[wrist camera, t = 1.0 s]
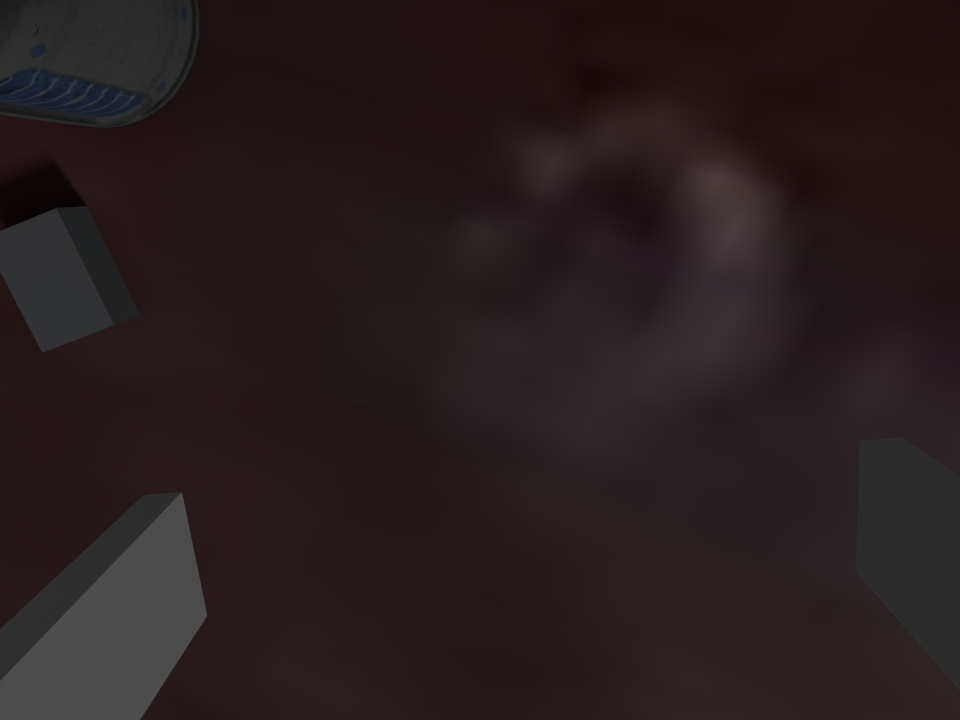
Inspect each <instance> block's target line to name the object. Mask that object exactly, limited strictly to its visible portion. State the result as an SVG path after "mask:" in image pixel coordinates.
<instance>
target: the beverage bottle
mask: <svg viewBox="0 0 960 720" xmlns="http://www.w3.org/2000/svg"><path fill="white" fill-rule="evenodd" d="M198 39H199V9H198V3H197V0H0V115H6V116H13V117H20V118H28V119H35V120H43V121H50V122H57V123H65V124H72V125H80V126H88V127H98V128H108V127H117V126H124V125H127V124H130V123H133V122H136V121H140V120H142V119H144V118H146V117H147V116H149V115H151V114H152V113H154V112H156V111H158V110H159V109H160V108H161V107H163V106H164V105H165V104H166V103H167V102H168V101H169V100H170V99H171V98H172V97H173V96H174V95H175V94H176V92H177V91H178V89H179V88H180V86H181V85H182V84H183V82H184V81H185V79H186V77H187V75H188V73H189V70H190V68H191V66H192V63H193V61H194V58H195V53H196V49H197V44H198Z"/></svg>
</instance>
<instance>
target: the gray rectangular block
mask: <svg viewBox="0 0 960 720" xmlns="http://www.w3.org/2000/svg"><path fill="white" fill-rule="evenodd" d="M0 272H1V274H2V276H3V278H4V280H5V282H6V284H7V286H8V288H9V290H10V291H11V293H12V295H13V297H14V299H15V301H16V303H17V305H18V307H19V309H20V311H21V313H22V314H23V316H24V318H25V320H26V322H27V324H28V326H29V328H30V330H31V332H32V334H33V336H34V337H35V339H36V341H37V343H38V345H39V347H40V349H41V351H42V352H45V351H48V350H50V349H53V348H56V347H58V346H61V345H63V344H66V343H69V342H71V341H74V340H76V339H79V338H81V337H84V336H87V335H89V334H92V333H94V332H97V331H99V330H102V329H105V328H107V327H110V326H112V325H115V324H117V323H120V322H122V321H125V320H128V319H130V318H133V317H135V316H138V315H139V313H138V310H137V308H136V306H135V304H134V302H133V300H132V298H131V296H130V294H129V292H128V290H127V288H126V286H125V284H124V282H123V280H122V278H121V276H120V273H119V271H118V269H117V267H116V265H115V263H114V261H113V259H112V257H111V255H110V253H109V251H108V249H107V247H106V245H105V243H104V241H103V238H102V236H101V234H100V232H99V230H98V228H97V226H96V224H95V222H94V220H93V218H92V216H91V214H90V212H89V210H88V208H87V206H82V207H66V208H55V209H53V210H50V211H48V212H46V213H43V214H41V215H38V216H36V217H33V218H31V219H29V220H26V221H24V222H21V223H19V224H16V225H14V226H11V227H9V228H7V229H4V230H2V231H0Z"/></svg>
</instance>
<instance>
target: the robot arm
mask: <svg viewBox="0 0 960 720" xmlns="http://www.w3.org/2000/svg"><path fill="white" fill-rule="evenodd" d="M856 572H857V574H858V575H859V576H860V577H861V578H862V579H863V580H864V582H865V583H866V584H867V585H868V586H869V587H870V588H871V590H872V591H873V592H874V593H875V594H876V595H877V596H878V598H879V599H880V600H881V601H882V602H883V603H884V604H885V606H886V607H887V608H888V609H889V610H890V611H891V612H892V614H893V615H894V616H895V617H896V618H897V619H898V620H899V622H900V623H901V624H902V625H903V626H904V627H905V628H906V629H907V631H908V632H909V633H910V634H911V635H912V636H913V637H914V639H915V640H916V641H917V642H918V643H919V644H920V645H921V647H922V648H923V649H924V650H925V651H926V652H927V653H928V655H929V656H930V657H931V658H932V659H933V660H934V661H935V663H936V664H937V665H938V666H939V667H940V668H941V669H942V671H943V672H944V673H945V674H946V675H947V676H948V677H949V679H950V680H951V681H952V682H953V683H954V684H955V685H956V687H957V688H958V689H959V690H960V477H959V476H957V475H956V474H954V473H953V472H951V471H950V470H948V469H947V468H945V467H944V466H942V465H941V464H939V463H938V462H937V461H935V460H934V459H932V458H931V457H929V456H928V455H926V454H925V453H923V452H922V451H920V450H919V449H917V448H916V447H914V446H913V445H911V444H910V443H909V442H907V441H906V440H904V439H903V438H891V439H878V440H865V441H860V460H859V488H858V516H857V544H856ZM206 616H207V613H206V608H205V603H204V599H203V594H202V589H201V584H200V579H199V574H198V569H197V564H196V559H195V554H194V549H193V545H192V540H191V535H190V530H189V525H188V520H187V515H186V510H185V505H184V500H183V496H182V492H179V493H166V494H153V495H144V496H142V497H141V498H140V499H139V500H138V501H137V502H136V503H135V504H134V505H133V506H132V507H131V508H130V509H129V510H128V511H126V512H125V513H124V514H123V515H122V516H121V517H120V518H119V519H118V520H117V521H116V522H115V523H114V524H113V525H111V526H110V527H109V528H108V529H107V530H106V531H105V532H104V533H103V534H102V535H101V536H100V537H99V538H98V539H96V540H95V541H94V542H93V543H92V544H91V545H90V546H89V547H88V548H87V549H86V550H85V551H84V552H83V553H82V554H80V555H79V556H78V557H77V558H76V559H75V560H74V561H73V562H72V563H71V564H70V565H69V566H68V567H67V568H65V569H64V570H63V571H62V572H61V573H60V574H59V575H58V576H57V577H56V578H55V579H54V580H53V581H52V582H51V583H49V584H48V585H47V586H46V587H45V588H44V589H43V590H42V591H41V592H40V593H39V594H38V595H37V596H36V597H34V598H33V599H32V600H31V601H30V602H29V603H28V604H27V605H26V606H25V607H24V608H23V609H22V610H21V611H20V612H18V613H17V614H16V615H15V616H14V617H13V618H12V619H11V620H10V621H9V622H8V623H7V624H6V625H5V626H3V627H2V628H1V629H0V720H140V719H141V717H142V716H143V714H144V713H145V711H146V709H147V708H148V706H149V705H150V703H151V702H152V700H153V699H154V697H155V695H156V694H157V692H158V691H159V689H160V688H161V686H162V685H163V683H164V682H165V680H166V678H167V677H168V675H169V674H170V672H171V671H172V669H173V668H174V666H175V664H176V663H177V661H178V660H179V658H180V657H181V655H182V654H183V652H184V651H185V649H186V647H187V646H188V644H189V643H190V641H191V640H192V638H193V637H194V635H195V633H196V632H197V630H198V629H199V627H200V626H201V624H202V623H203V621H204V619H205V618H206Z"/></svg>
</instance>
